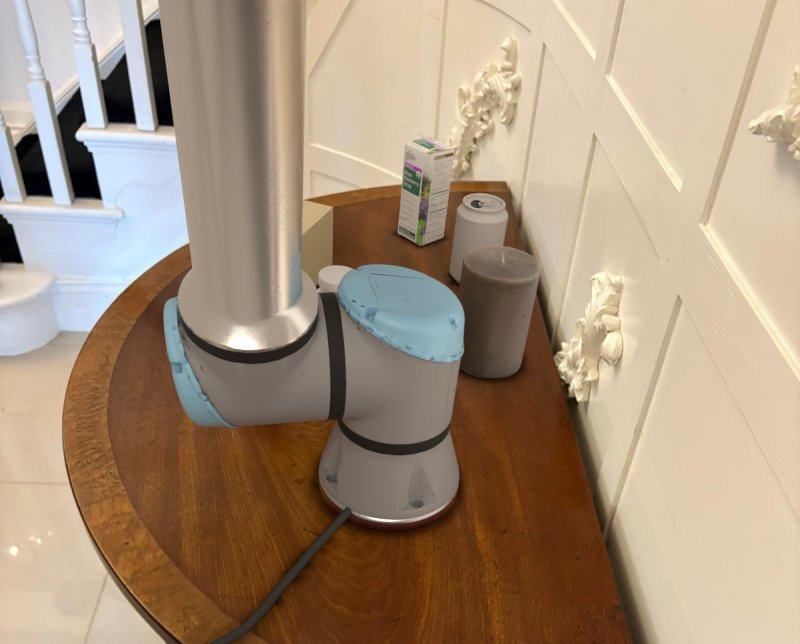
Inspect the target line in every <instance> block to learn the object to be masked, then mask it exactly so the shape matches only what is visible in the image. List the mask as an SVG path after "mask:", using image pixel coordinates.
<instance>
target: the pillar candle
mask: <svg viewBox="0 0 800 644" xmlns="http://www.w3.org/2000/svg"><path fill="white" fill-rule="evenodd" d="M542 269H543V266H542V263H541V262H540V261H539V260H538V259H537V258H535V257H534V256H533V255H531V254H529V253H528V252H527V251H524V250H521V249H517V248H515V247H511V246H505V245H503V246H500V245H491V246H488V245H487V246H480V247H476V248H473V249H471V250H469V251H467V252H466V254H465V256H464V259H463V265H462V272H461V278H460V283H459V286H458V293H457V298H458V299H459V301H460V303H461V305H462V307H463V311H464V316H465V322H464V339H463V343H464V352H463V355H462V357H461V361H460V367H459V370H460V371H462V372H463V373H465V374H467V375H469V376H472V377H476V378H481V379H502V378H507V377H510V376H512V375H514V374H516V373H517V372H518V371H519V369H520V368H521V365H522V362H523V357H524V352H525V349H526V344H527V338H528V333H529V330H530V324H531V318H532V314H533V310H534V305H535V301H536V296H537V291H538V286H539V281H540V278H541V277H540V276H541V271H542Z"/></svg>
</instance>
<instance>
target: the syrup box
mask: <svg viewBox="0 0 800 644" xmlns="http://www.w3.org/2000/svg"><path fill="white" fill-rule="evenodd" d="M455 149H456V148H455V147H453V146H450V145H447V144H445V143H443V142H440V141H439V140H436V139H434V138H433V137H430V136H428V137H419V138H414V139H411V140H409V141H407V142H405V144H404V154H403V165H402V177H401V189H400V203H399V215H398V223H397V235H398V236H402V237H403V238H406V239H407V240H409V241H411V242H412V243H414V244H416V245H418V246H419V247H422V246H425V245H427V244H430V243H433V242H436V241H438V240H441V239H443V238H444V236H445V229H446V222H447V221H446V220H447V213H448V206H449V205H448V204H449V197H450V188H451V182H452V173H453V166H454V158H455Z"/></svg>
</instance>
